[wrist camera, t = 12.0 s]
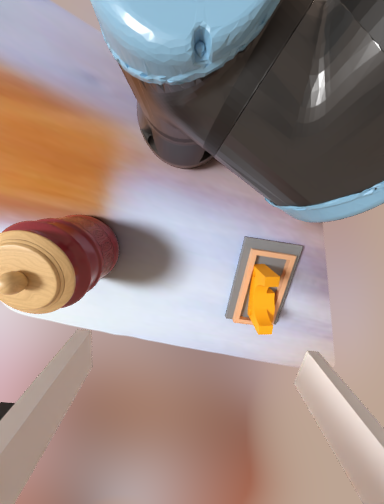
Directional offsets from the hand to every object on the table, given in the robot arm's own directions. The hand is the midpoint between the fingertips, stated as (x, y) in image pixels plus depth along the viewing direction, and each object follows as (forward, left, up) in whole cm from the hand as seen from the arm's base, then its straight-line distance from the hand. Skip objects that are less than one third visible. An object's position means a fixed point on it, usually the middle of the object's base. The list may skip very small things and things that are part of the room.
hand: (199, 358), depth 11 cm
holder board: (+6, +17, -27) cm, 32 cm away
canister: (+3, -20, -27) cm, 34 cm away
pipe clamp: (+7, +16, -26) cm, 31 cm away
